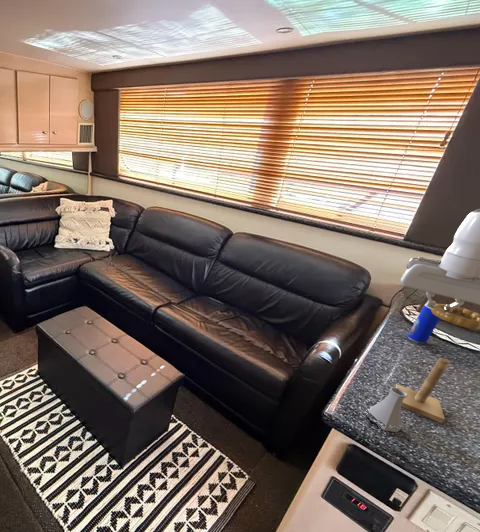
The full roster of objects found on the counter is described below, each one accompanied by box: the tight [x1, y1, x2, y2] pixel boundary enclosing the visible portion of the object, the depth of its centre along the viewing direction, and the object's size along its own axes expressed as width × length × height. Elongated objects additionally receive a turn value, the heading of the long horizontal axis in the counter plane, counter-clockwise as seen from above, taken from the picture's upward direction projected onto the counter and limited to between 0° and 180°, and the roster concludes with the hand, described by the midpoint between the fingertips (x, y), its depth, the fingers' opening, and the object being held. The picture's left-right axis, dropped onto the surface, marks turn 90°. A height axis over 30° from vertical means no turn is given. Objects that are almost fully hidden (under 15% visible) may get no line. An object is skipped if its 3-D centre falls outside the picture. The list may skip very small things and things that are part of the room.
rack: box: [394, 357, 451, 424], centre depth 86 cm, size 9×9×16 cm
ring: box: [431, 303, 480, 330], centre depth 90 cm, size 11×11×2 cm
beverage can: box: [407, 303, 441, 344], centre depth 117 cm, size 5×5×15 cm
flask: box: [363, 386, 408, 433], centre depth 81 cm, size 7×7×10 cm
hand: (438, 309), depth 93 cm, fingers closed on ring, 2 cm apart
